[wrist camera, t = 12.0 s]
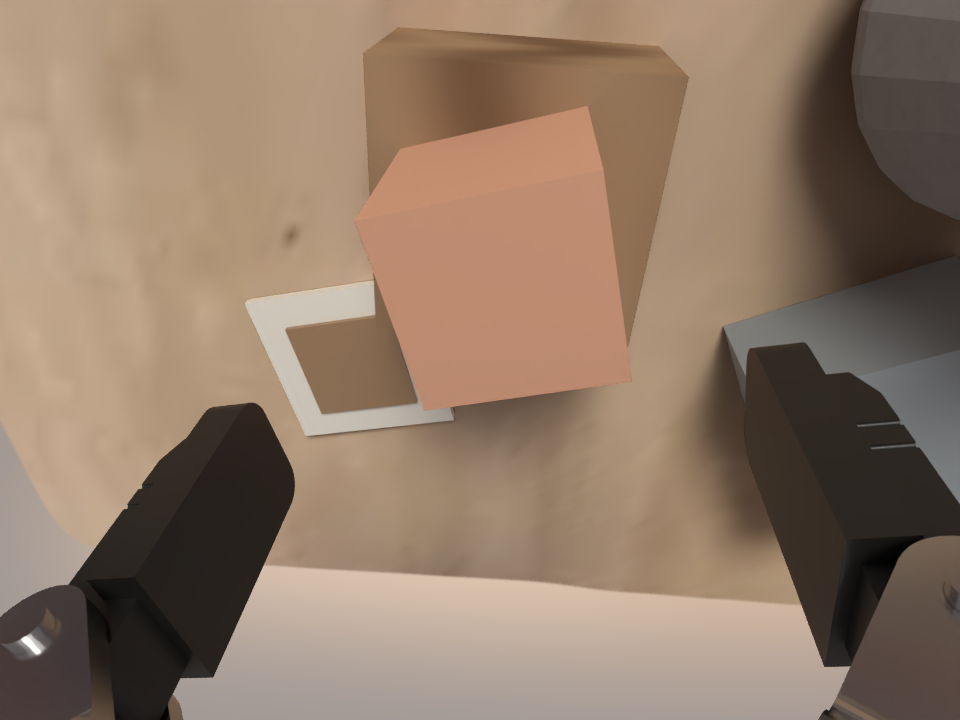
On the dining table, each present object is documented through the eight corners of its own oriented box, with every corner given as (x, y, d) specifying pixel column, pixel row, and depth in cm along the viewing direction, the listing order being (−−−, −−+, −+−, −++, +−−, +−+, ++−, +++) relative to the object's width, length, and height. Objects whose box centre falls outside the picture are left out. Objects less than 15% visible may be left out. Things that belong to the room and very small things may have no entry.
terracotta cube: (587, 105, 16) (603, 169, 12) (611, 280, 19) (631, 381, 14) (400, 148, 17) (354, 221, 13) (449, 308, 20) (424, 410, 15)
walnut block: (657, 44, 19) (688, 77, 15) (612, 277, 24) (627, 349, 20) (400, 26, 20) (362, 53, 16) (403, 259, 24) (376, 327, 20)
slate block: (952, 253, 22) (1045, 327, 18) (960, 417, 26) (1037, 508, 22) (721, 323, 25) (757, 402, 21) (759, 464, 29) (796, 554, 25)
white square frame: (414, 274, 24) (412, 281, 24) (454, 414, 28) (453, 423, 28) (248, 299, 26) (242, 306, 25) (308, 430, 29) (304, 438, 29)
